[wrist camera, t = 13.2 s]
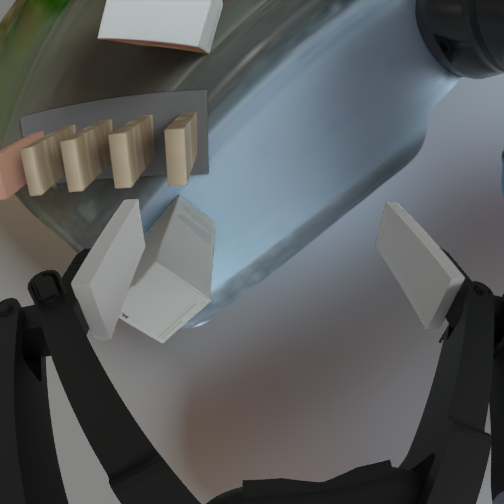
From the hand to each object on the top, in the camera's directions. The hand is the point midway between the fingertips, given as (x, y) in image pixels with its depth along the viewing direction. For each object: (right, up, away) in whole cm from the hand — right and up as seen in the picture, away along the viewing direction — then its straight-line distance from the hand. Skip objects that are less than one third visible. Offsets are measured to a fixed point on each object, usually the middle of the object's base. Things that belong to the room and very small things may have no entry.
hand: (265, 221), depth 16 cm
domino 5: (-8, +12, +18) cm, 23 cm away
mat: (-18, +12, +17) cm, 28 cm away
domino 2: (-23, +12, +17) cm, 30 cm away
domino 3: (-18, +12, +17) cm, 27 cm away
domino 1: (-28, +12, +16) cm, 34 cm away
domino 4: (-13, +12, +17) cm, 25 cm away
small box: (-8, +23, +11) cm, 27 cm away
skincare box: (-10, +2, +25) cm, 27 cm away
